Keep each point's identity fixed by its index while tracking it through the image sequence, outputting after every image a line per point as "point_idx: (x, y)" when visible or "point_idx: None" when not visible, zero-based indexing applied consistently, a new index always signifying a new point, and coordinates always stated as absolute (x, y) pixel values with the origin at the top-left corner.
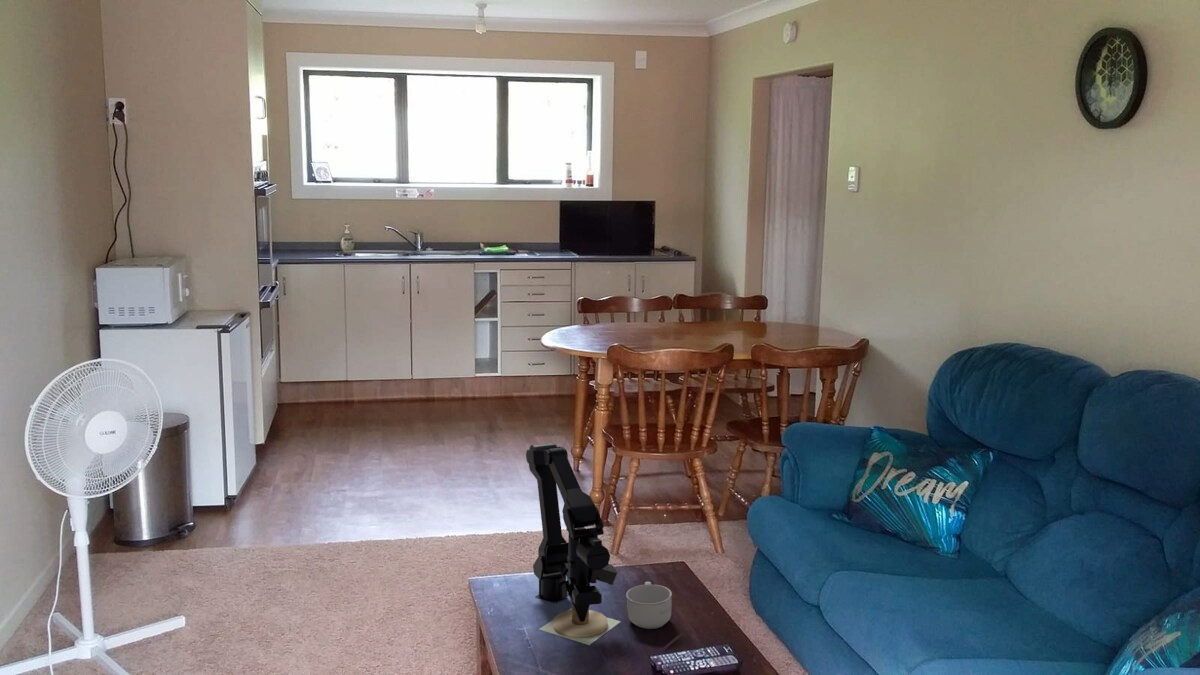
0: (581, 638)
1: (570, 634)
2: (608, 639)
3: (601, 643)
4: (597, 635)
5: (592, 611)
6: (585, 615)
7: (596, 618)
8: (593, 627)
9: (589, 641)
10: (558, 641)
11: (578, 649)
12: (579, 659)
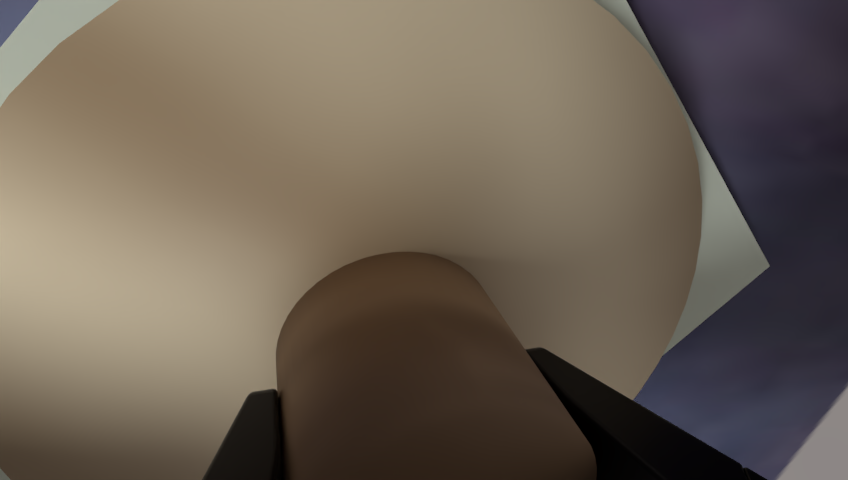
0: None
1: None
2: (727, 39)
3: (753, 136)
4: None
5: (31, 146)
6: (623, 406)
7: (349, 128)
8: (595, 214)
9: (727, 258)
10: None
11: (730, 329)
12: (838, 328)
